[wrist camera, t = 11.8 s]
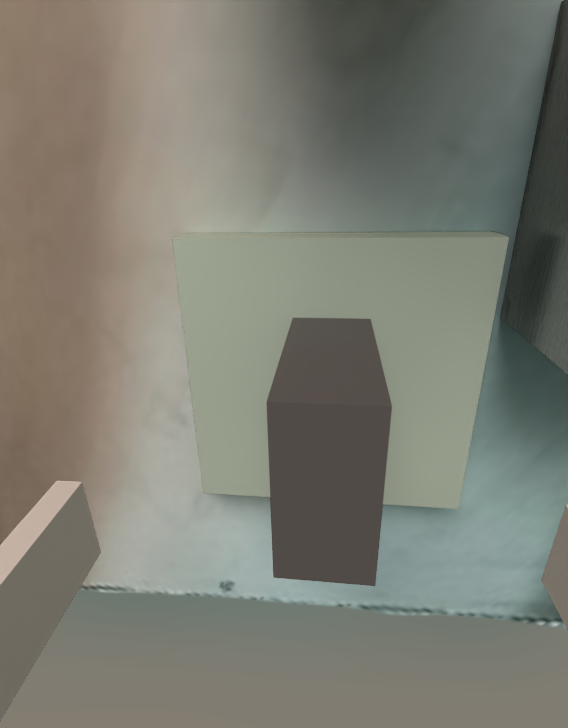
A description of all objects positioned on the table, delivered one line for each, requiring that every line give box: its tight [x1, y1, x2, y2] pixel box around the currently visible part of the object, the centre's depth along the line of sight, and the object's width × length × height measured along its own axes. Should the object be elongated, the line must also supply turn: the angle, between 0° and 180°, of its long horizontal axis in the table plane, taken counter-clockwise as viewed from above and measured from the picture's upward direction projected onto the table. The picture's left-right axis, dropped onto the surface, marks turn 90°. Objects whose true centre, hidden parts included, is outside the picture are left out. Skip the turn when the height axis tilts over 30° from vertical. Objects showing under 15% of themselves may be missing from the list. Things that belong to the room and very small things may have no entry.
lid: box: [172, 231, 509, 586], centre depth 18 cm, size 14×14×10 cm
